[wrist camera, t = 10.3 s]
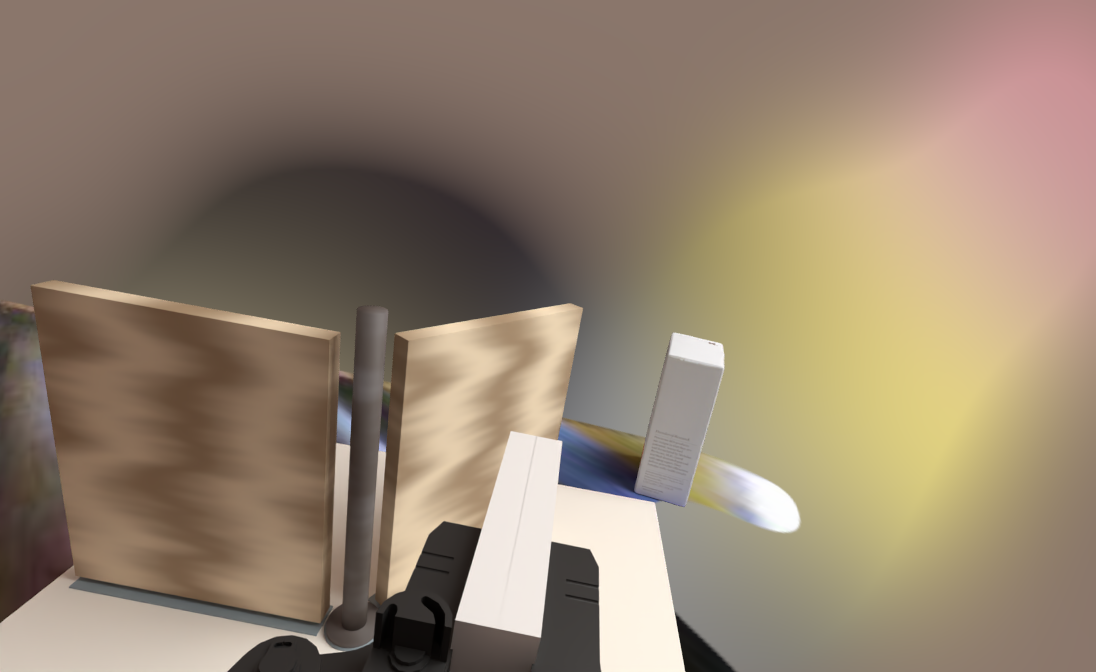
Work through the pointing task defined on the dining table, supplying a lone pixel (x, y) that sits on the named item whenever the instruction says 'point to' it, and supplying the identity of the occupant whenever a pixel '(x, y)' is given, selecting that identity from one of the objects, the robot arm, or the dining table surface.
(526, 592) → the robot arm
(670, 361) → the skincare box
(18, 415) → the dining table surface
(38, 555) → the dining table surface
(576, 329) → the fence gate
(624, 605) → the card
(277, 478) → the panel
